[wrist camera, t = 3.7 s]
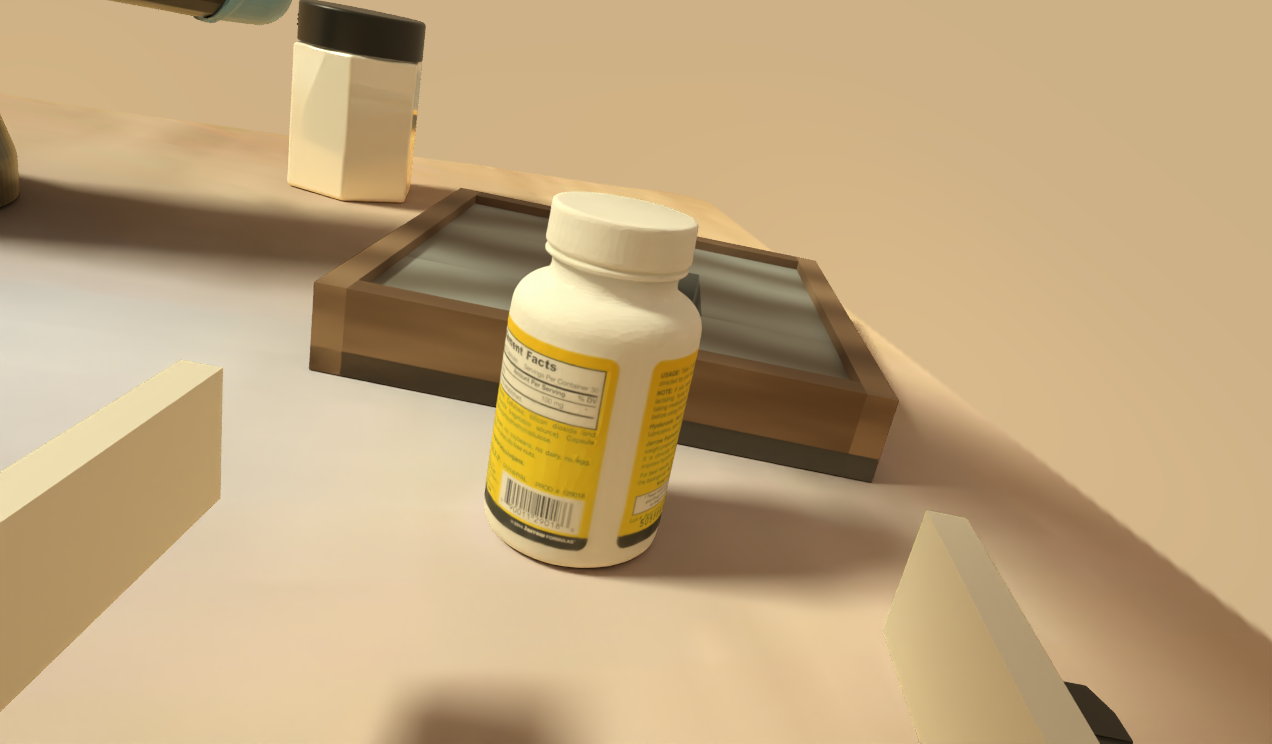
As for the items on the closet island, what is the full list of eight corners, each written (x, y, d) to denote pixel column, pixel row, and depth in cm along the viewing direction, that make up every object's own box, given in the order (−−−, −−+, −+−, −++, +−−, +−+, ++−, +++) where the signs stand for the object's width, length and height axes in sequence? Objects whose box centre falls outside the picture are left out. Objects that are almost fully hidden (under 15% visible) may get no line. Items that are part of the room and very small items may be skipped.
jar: (386, 177, 67) (400, 15, 63) (433, 205, 62) (452, 29, 57) (267, 171, 62) (274, -9, 57) (308, 200, 56) (319, 5, 52)
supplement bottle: (626, 478, 30) (686, 199, 26) (679, 573, 25) (762, 248, 21) (469, 475, 28) (511, 173, 24) (494, 577, 23) (551, 222, 20)
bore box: (871, 482, 33) (898, 400, 32) (309, 369, 33) (314, 281, 31) (800, 314, 54) (815, 260, 52) (454, 243, 53) (461, 187, 52)
